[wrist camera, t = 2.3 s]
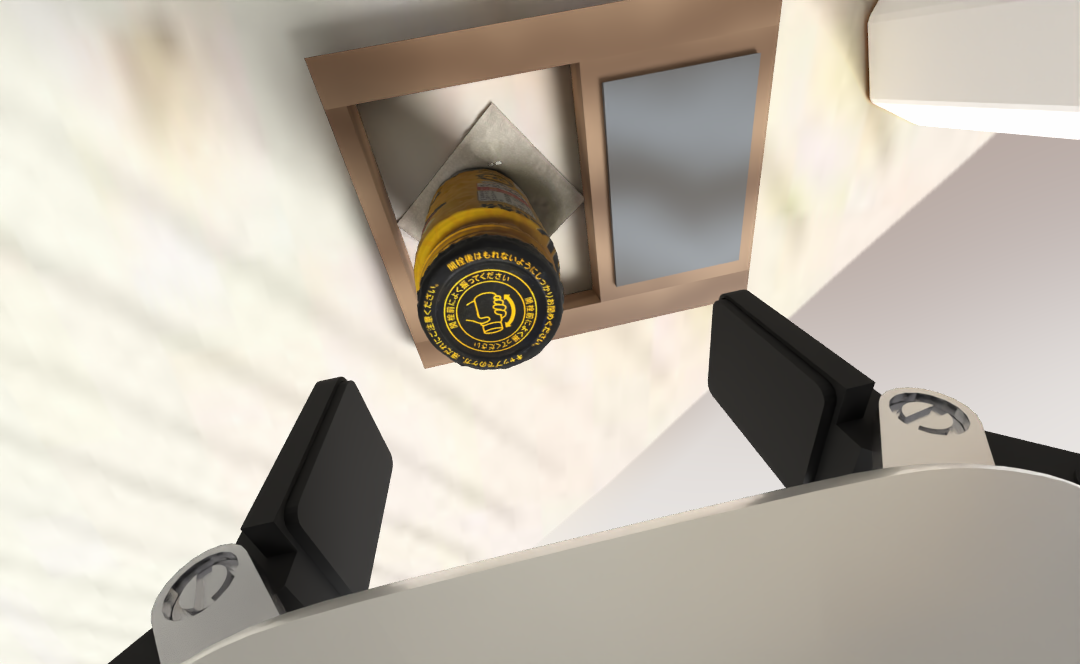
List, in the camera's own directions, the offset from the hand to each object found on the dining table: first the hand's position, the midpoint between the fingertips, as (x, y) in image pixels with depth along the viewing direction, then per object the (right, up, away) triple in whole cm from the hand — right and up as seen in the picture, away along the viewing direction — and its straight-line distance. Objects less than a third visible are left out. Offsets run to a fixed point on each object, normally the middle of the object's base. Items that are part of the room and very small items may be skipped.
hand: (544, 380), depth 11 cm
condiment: (-3, +9, +14) cm, 17 cm away
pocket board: (+1, +9, +14) cm, 17 cm away
